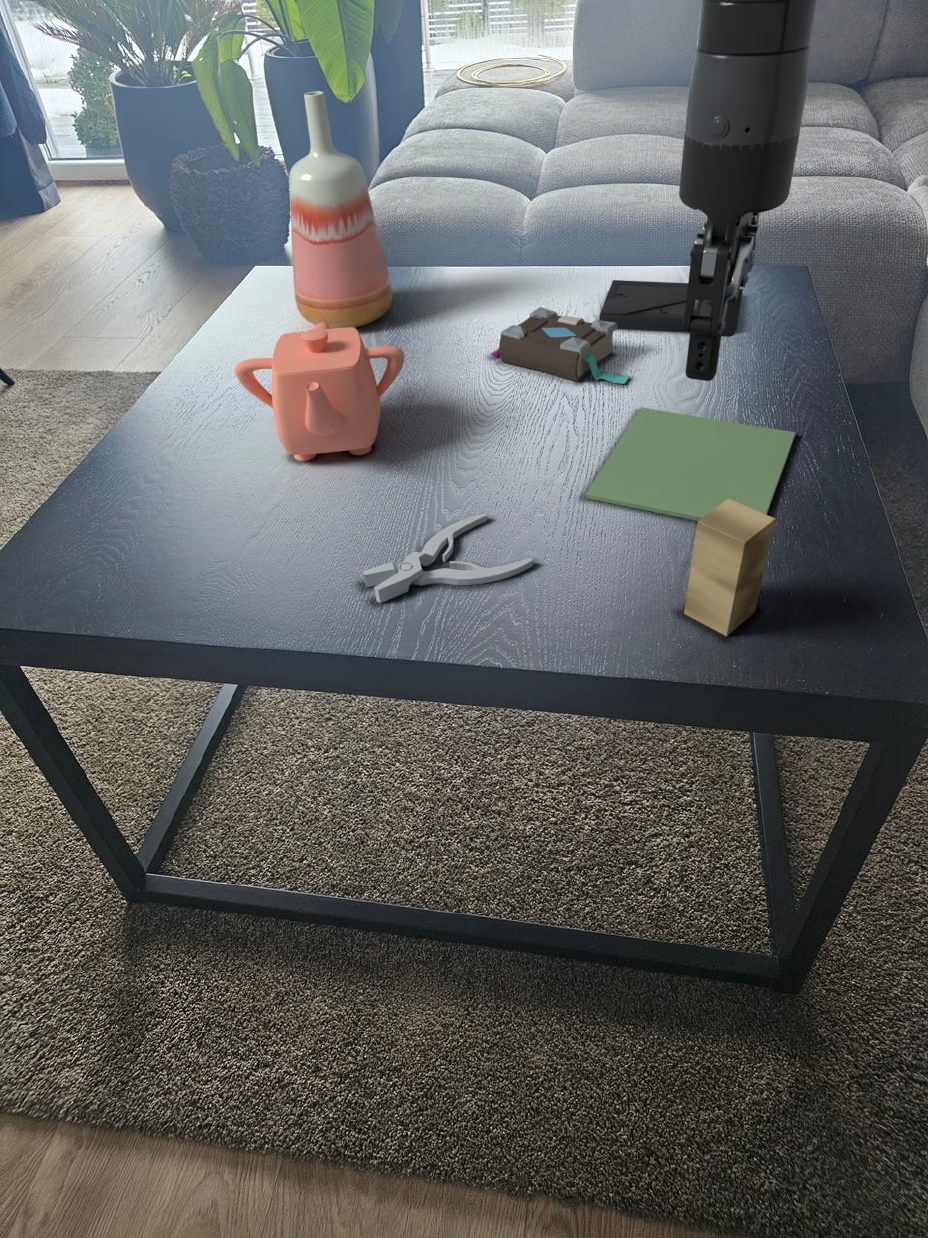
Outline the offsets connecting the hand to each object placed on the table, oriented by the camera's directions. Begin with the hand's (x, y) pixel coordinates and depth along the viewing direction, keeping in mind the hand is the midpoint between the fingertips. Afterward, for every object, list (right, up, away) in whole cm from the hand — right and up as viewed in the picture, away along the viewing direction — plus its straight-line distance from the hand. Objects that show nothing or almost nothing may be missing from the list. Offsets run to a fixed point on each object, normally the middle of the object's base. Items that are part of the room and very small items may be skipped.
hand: (711, 354), depth 68 cm
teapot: (-35, 0, +34) cm, 49 cm away
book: (-6, +14, +47) cm, 49 cm away
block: (+3, -21, +7) cm, 22 cm away
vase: (-38, +25, +62) cm, 77 cm away
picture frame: (+10, +24, +57) cm, 62 cm away
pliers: (-22, -16, +15) cm, 31 cm away
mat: (+5, -4, +25) cm, 26 cm away
